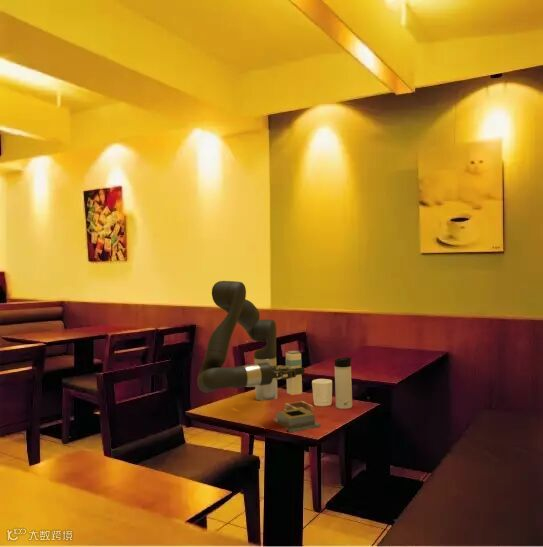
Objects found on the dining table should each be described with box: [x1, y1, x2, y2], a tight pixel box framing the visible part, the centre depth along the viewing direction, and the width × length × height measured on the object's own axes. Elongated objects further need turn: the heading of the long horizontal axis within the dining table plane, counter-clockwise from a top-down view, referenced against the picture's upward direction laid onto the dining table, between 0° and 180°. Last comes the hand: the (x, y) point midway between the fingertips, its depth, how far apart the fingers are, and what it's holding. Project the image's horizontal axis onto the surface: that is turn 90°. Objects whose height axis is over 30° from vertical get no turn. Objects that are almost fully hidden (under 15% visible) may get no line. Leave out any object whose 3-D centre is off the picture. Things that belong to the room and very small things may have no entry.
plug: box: [285, 350, 303, 396], centre depth 195 cm, size 4×4×15 cm
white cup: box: [311, 378, 333, 407], centre depth 218 cm, size 8×8×10 cm
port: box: [271, 408, 321, 433], centre depth 195 cm, size 14×12×4 cm
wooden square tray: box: [283, 400, 315, 413], centre depth 210 cm, size 9×9×3 cm
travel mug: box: [334, 356, 353, 410], centre depth 212 cm, size 6×7×20 cm
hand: (300, 369), depth 196 cm, fingers closed on plug, 4 cm apart
